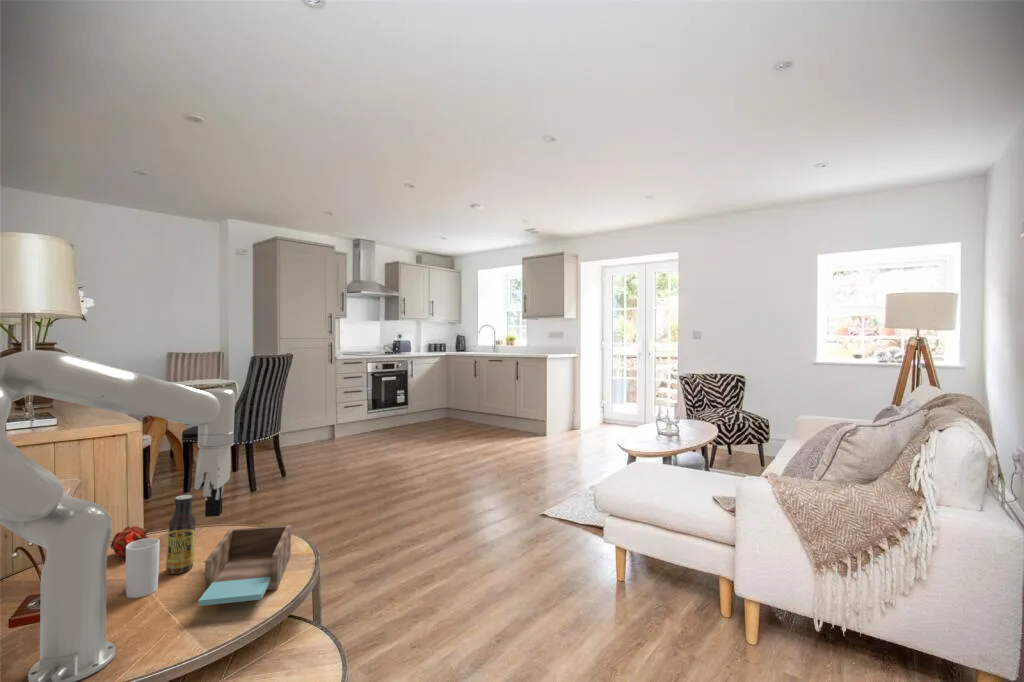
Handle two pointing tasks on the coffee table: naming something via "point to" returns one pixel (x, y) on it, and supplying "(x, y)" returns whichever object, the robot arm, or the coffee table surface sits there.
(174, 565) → the sauce bottle
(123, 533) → the dragon fruit
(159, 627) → the coffee table surface
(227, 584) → the panel
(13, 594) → the coffee table surface
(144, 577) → the white oval vase
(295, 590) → the coffee table surface
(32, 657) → the coffee table surface
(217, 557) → the box
